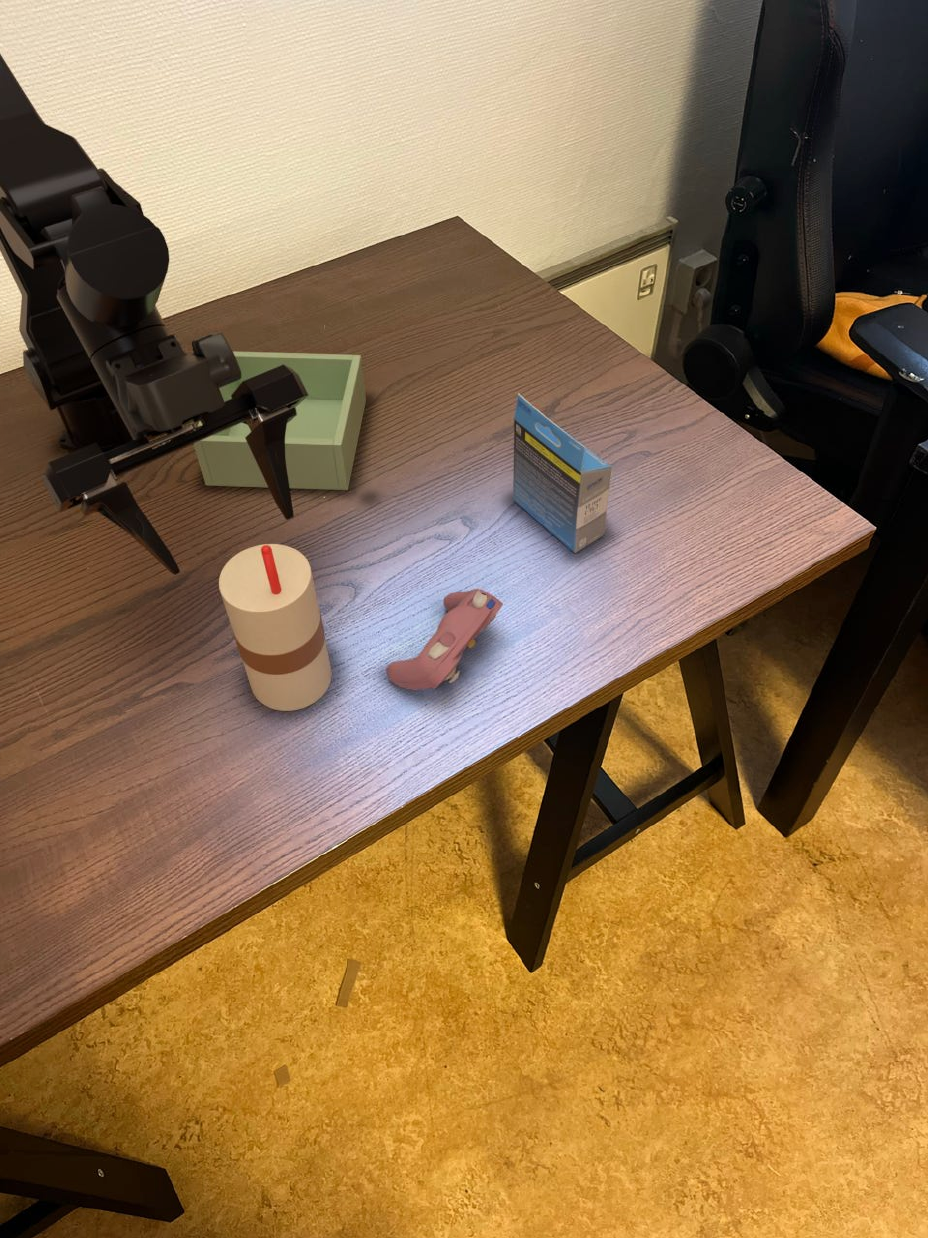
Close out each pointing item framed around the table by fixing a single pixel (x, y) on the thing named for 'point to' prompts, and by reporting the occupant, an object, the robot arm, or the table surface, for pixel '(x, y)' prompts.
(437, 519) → the table surface
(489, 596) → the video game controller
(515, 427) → the label tape box
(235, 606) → the straw cup
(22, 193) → the robot arm
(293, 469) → the bin
